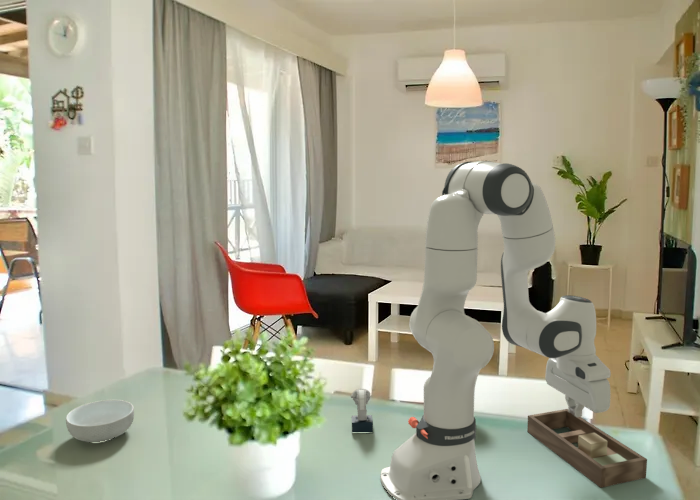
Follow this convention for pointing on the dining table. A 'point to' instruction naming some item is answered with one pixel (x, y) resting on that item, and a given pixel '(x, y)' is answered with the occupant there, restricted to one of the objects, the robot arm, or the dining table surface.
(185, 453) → the dining table surface
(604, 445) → the block
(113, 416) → the cereal bowl
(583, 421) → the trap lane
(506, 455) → the dining table surface
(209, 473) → the dining table surface
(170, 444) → the dining table surface
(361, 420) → the grey joystick on base
